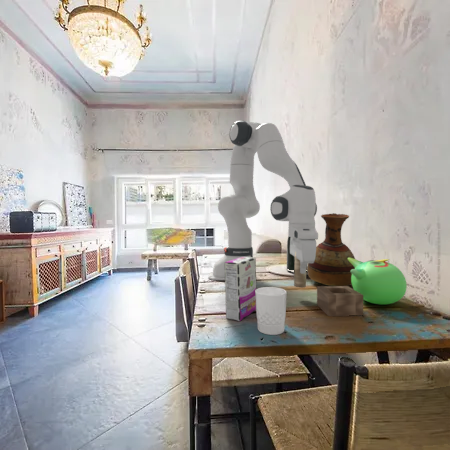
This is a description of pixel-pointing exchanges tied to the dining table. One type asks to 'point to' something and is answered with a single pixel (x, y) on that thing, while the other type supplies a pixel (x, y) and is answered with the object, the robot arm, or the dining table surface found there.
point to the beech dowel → (299, 275)
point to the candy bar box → (240, 287)
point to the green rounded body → (378, 281)
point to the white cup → (270, 310)
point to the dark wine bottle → (290, 257)
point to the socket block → (339, 300)
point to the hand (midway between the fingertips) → (300, 271)
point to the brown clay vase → (332, 255)
